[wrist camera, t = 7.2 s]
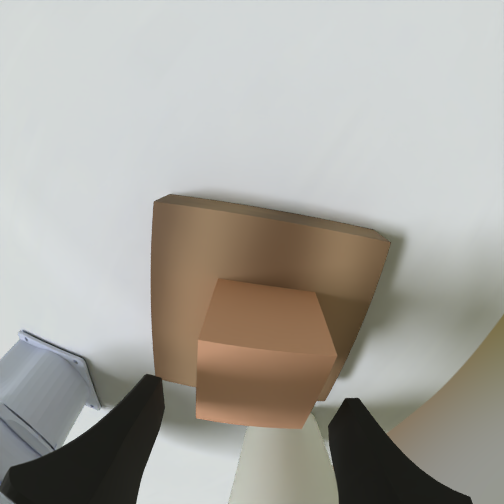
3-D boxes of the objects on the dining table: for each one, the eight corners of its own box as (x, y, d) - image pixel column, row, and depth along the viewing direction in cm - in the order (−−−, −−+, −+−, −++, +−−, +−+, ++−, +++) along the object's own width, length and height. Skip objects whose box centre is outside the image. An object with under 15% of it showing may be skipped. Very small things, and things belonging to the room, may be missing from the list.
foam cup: (283, 380, 19) (292, 541, 7) (350, 416, 21) (377, 532, 9) (211, 425, 22) (192, 544, 10) (280, 453, 24) (283, 553, 11)
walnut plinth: (166, 351, 19) (155, 378, 16) (172, 192, 15) (153, 201, 12) (318, 373, 20) (324, 401, 17) (370, 227, 15) (390, 242, 13)
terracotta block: (211, 352, 15) (195, 418, 11) (218, 278, 14) (198, 339, 9) (293, 362, 15) (301, 428, 11) (315, 292, 14) (337, 355, 9)
